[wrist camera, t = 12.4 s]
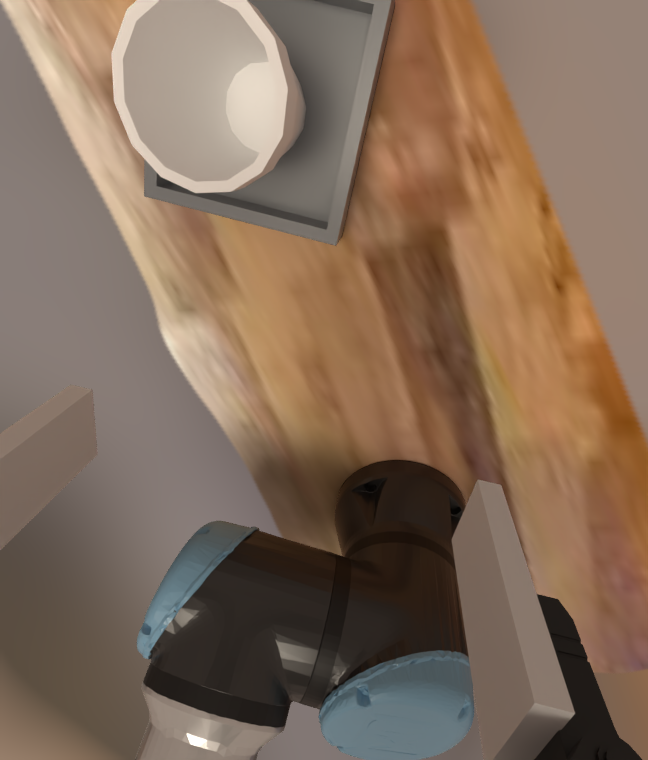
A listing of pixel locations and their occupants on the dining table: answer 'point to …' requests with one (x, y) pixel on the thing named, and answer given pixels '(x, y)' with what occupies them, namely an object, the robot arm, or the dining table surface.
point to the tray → (309, 121)
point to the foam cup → (205, 91)
